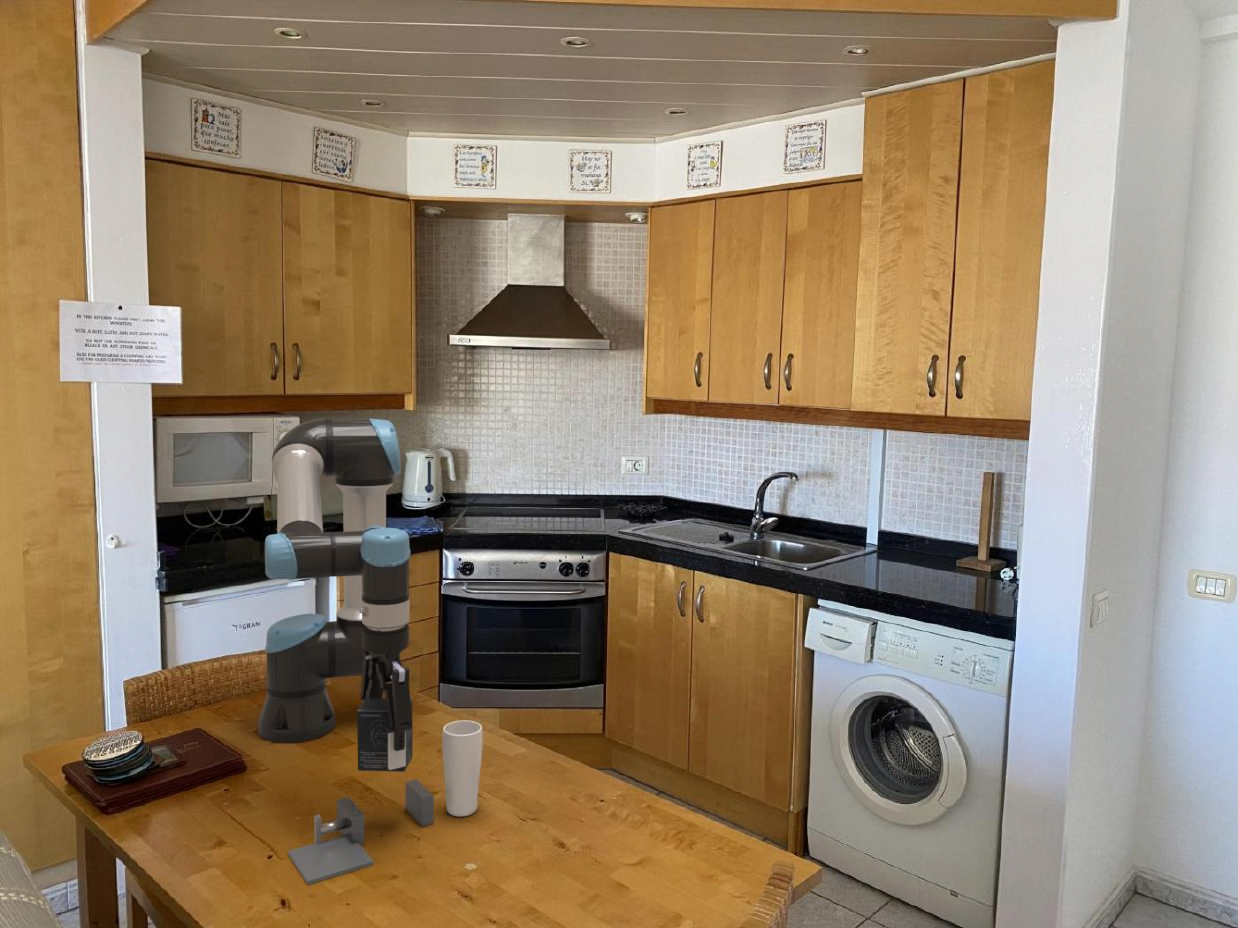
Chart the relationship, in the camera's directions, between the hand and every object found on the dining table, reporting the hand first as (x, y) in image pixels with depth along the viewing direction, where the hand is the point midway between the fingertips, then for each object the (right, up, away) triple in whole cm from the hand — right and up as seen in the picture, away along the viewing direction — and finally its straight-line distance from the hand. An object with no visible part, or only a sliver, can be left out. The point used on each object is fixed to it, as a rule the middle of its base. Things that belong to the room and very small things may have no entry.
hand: (385, 755), depth 152 cm
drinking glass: (+11, -12, +7) cm, 18 cm away
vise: (-2, -12, 0) cm, 12 cm away
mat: (-6, -13, -9) cm, 17 cm away
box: (0, -2, 0) cm, 2 cm away
